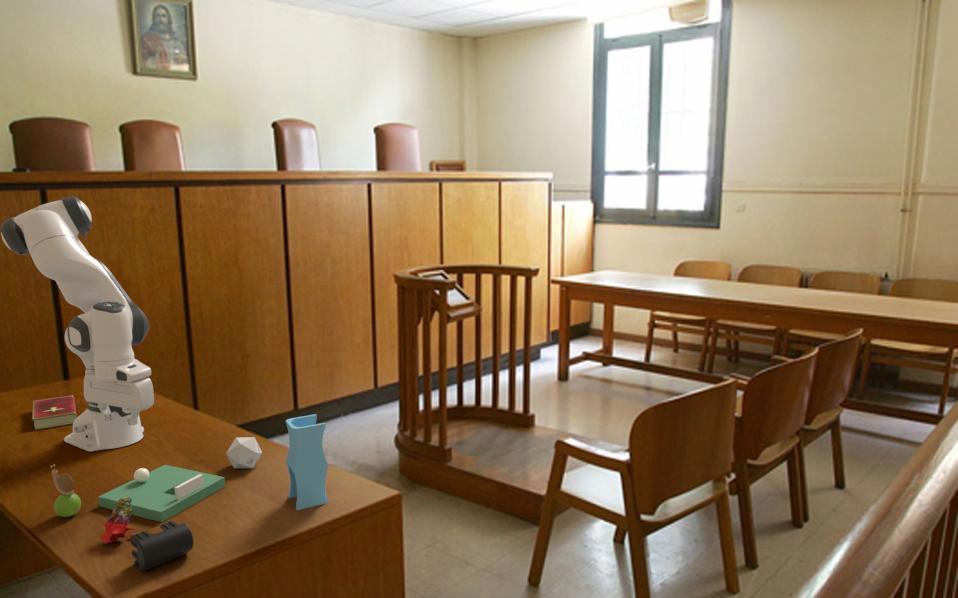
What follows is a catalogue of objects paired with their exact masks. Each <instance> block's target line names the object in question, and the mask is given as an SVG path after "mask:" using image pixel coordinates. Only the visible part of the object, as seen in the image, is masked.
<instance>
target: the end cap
mask: <svg viewBox="0 0 958 598" xmlns="http://www.w3.org/2000/svg"><path fill="white" fill-rule="evenodd" d="M159 527H160V529H162V531H159V532H156V533H150V532H149V531H147V530H143V531H141V532H139V533H136V534H134V535H133V536H132V537H130V544H131V546H133V547H134V548H135V549H136V550H135V549H132V550H131V556H132V558H133V559H135V560H134V561H133V565H134V566H135V568H137V569H139V570H140V571H141V572H146V571H149V570H151V569H153V568H155V567H156V568H157V567H158V566H160V565H162V564H165V563H168V562H169V561H172V560H175V559H177V558H180V557H182V556H184V555H186V554H188V553H189V552H191V551H192V550H193V548H194V547H193V546H194V537H193V532H192V530H191V528H190V527H189V525H188V524H187V523H185V522H184V523H180V524H178V522H175V520H170V521H168V522H166V523H162V524H161V525H159Z"/></svg>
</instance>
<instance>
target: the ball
mask: <svg viewBox="0 0 958 598" xmlns="http://www.w3.org/2000/svg"><path fill="white" fill-rule="evenodd" d="M149 472H150V471H149V470H148V469H147V468H144V467H142V468H141V467H140V468H138V469H136V470H135V472H134V474H133V480H134V479H135V480H136V481H137V482H140V483H142V482H145V481H146V480H147V479H148V478H149Z"/></svg>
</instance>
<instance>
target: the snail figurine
mask: <svg viewBox="0 0 958 598" xmlns="http://www.w3.org/2000/svg"><path fill="white" fill-rule="evenodd" d="M55 466H56V464H55V463H53V464H51V465H50V466H49V467H50V468H51V469H50V470H51V476H52V479H53V483H54V486H55V487H56V490H57V491H58V492H59V493H61V494H60V495H59V496H58V497H57V498H56V499H55V500H54V503H53V509H54V512H55V514H56V515H58V516H59V517H62V518H70V517H73V516H75V514H77V513H78V512H79V511H80V509H81V506H82V500H81V498H80V497H79V495H78V494H77V493H75V491H74V490H73V489H74V484H75V483H74V479H73V478H72V476H71V475H70V474H69V473H61V474H59V470H57V469H56V468H55Z"/></svg>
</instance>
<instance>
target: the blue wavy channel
mask: <svg viewBox="0 0 958 598" xmlns="http://www.w3.org/2000/svg"><path fill="white" fill-rule="evenodd" d="M317 419H318V414H317V413H316V414H315V413H314V414H309V415H304V416H303V415H302V416H297V417H292V418H287V419H286V420H285V424H286V427H287V432H288V438H289V447H288V452H287V455H286V458H285V463H286V466H287V471H288V474H289V491H288V496H287V498H288V499H293V498H296V504H295V505H296V506H295V510H296V511H299V510H305V509H309V508H313V507H317V506H321V505H325V504H326V503H328V497H327V492H326V479H327V473H328V470H329V469H328V468H329V464H328V461H327V458H326V456H325V453H324V449H323V448H324V447H323V438H324V434H325V433H324V432H325V428H326V423H325V422H323V423H321V422H320V423H317Z"/></svg>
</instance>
